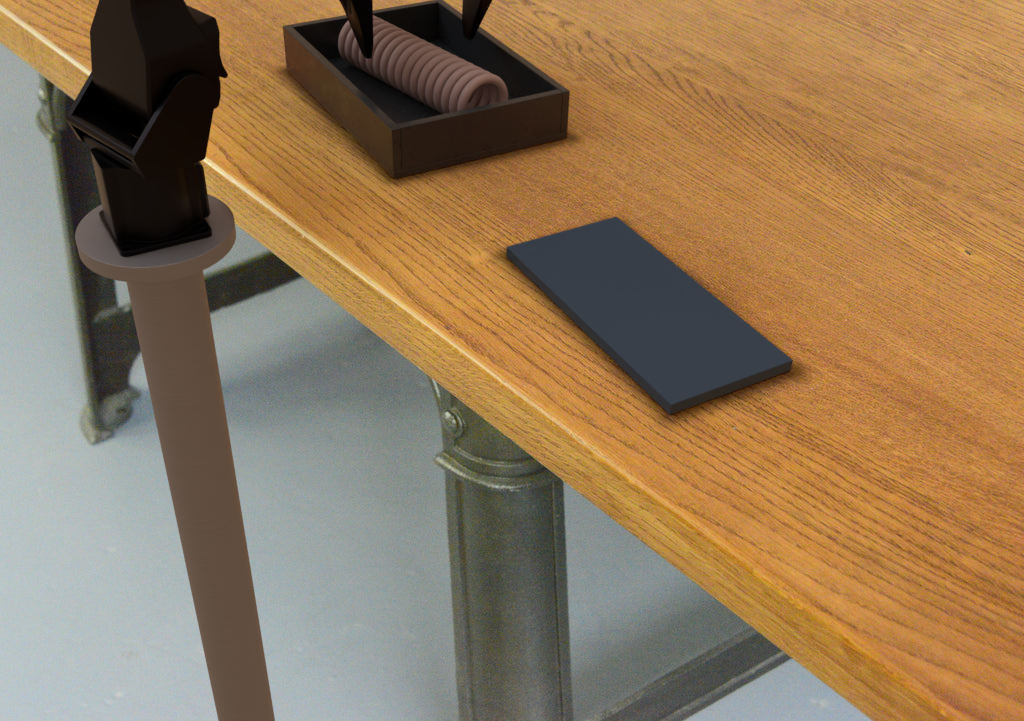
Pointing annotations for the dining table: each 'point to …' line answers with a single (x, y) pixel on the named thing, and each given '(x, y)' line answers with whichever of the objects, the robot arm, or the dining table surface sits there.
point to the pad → (648, 314)
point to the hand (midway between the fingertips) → (418, 47)
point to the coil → (422, 69)
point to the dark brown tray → (411, 124)
